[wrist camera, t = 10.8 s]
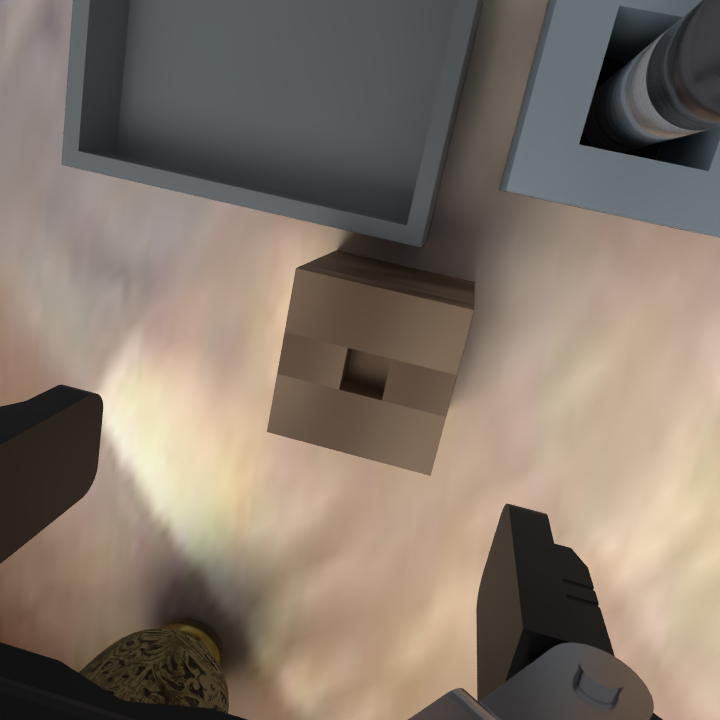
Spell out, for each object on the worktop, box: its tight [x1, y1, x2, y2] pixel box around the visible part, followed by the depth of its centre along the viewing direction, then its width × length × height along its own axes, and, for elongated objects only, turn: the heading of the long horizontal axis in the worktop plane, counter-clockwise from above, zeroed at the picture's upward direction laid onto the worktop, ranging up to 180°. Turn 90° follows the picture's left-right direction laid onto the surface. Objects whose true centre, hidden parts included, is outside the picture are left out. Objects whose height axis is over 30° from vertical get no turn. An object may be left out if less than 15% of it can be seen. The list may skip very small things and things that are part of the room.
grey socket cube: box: [499, 0, 720, 237], centre depth 19 cm, size 6×6×6 cm
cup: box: [79, 619, 229, 714], centre depth 28 cm, size 8×7×8 cm
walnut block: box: [267, 250, 475, 476], centre depth 23 cm, size 6×6×6 cm
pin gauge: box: [583, 0, 720, 153], centre depth 17 cm, size 2×2×12 cm
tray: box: [62, 0, 483, 247], centre depth 22 cm, size 13×13×3 cm
